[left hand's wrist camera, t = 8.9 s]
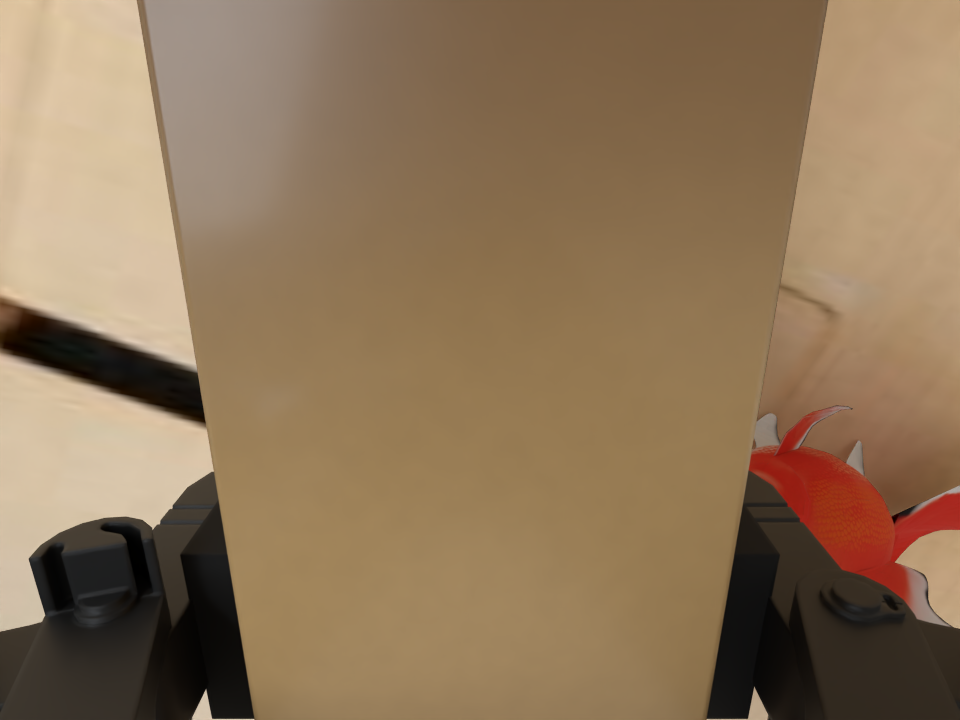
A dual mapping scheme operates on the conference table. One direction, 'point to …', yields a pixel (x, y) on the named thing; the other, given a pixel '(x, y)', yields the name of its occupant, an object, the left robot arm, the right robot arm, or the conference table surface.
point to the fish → (851, 508)
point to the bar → (481, 334)
